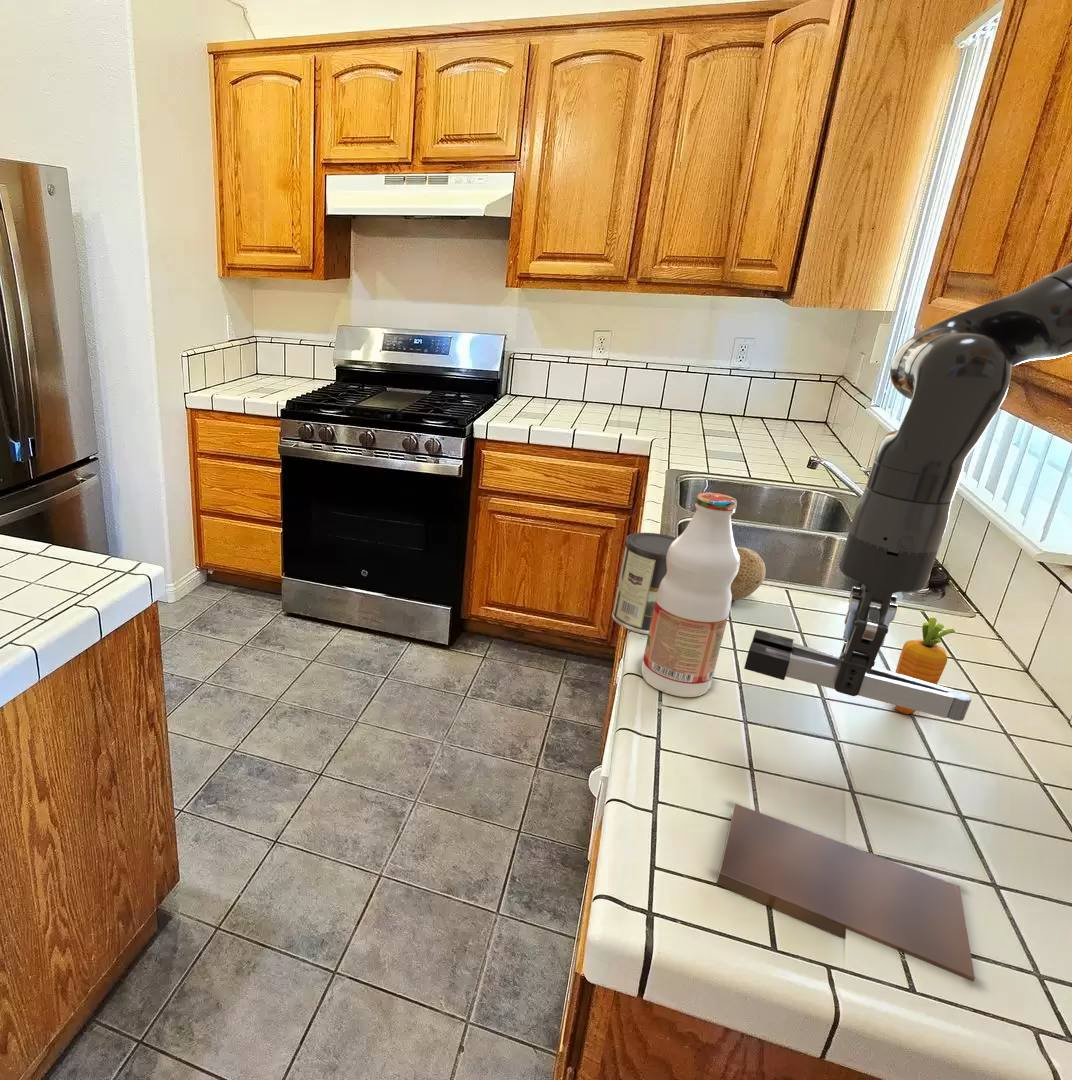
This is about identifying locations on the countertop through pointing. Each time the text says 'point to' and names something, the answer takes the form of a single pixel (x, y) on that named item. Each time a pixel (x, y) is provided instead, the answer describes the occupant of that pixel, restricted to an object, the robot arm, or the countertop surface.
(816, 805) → the countertop surface
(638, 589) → the coffee can
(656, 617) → the fruit juice
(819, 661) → the tongs
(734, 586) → the natural sponge
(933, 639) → the carrot
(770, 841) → the board
